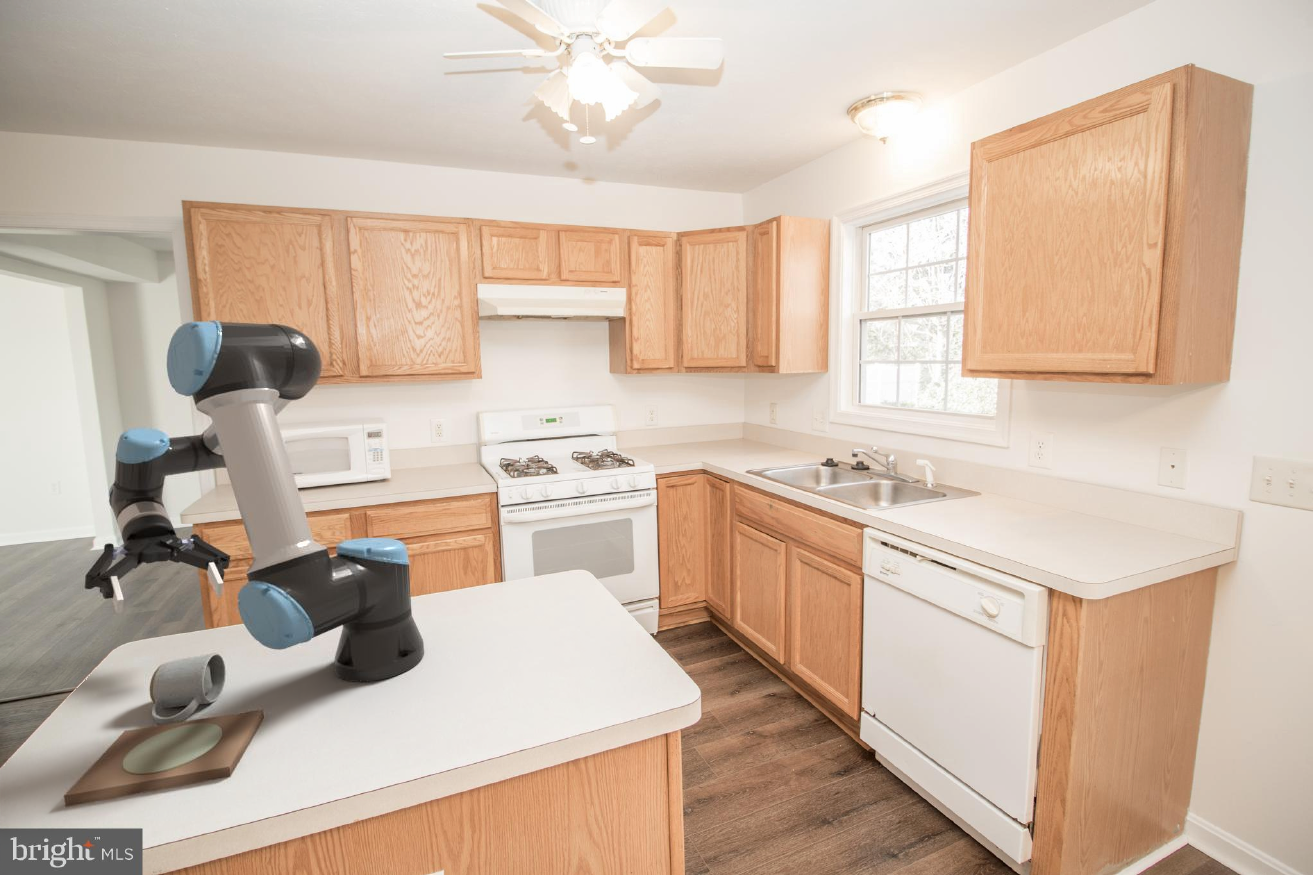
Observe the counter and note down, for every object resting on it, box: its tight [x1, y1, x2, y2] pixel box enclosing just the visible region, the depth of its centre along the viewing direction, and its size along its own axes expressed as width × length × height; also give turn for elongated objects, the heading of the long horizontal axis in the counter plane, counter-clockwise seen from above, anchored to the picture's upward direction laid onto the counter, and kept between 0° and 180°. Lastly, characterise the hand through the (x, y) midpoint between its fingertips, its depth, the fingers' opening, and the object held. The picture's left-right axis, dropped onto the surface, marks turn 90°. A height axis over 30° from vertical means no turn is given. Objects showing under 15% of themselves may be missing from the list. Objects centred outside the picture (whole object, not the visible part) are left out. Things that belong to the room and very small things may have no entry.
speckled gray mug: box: [149, 652, 227, 725], centre depth 97 cm, size 11×8×8 cm
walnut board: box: [63, 709, 265, 807], centre depth 85 cm, size 18×14×2 cm
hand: (172, 597), depth 103 cm, fingers open, 13 cm apart
